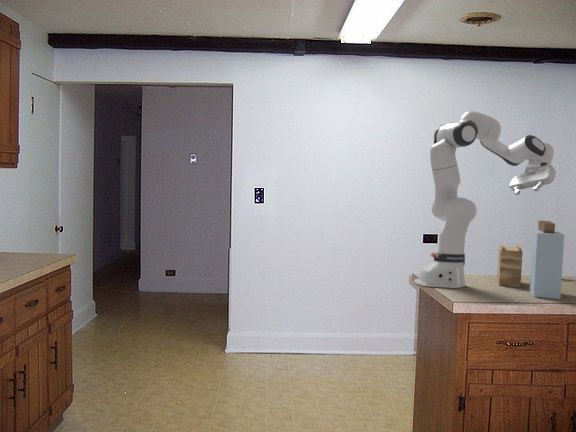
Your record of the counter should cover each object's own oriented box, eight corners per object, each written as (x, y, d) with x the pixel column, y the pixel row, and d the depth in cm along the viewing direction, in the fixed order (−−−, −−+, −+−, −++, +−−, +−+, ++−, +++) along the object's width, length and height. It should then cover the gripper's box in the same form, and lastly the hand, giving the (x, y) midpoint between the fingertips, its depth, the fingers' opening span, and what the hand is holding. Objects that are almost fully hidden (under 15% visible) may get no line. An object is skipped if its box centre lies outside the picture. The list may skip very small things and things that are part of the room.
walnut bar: (554, 233, 246) (555, 223, 245) (544, 232, 247) (544, 223, 246) (547, 230, 265) (548, 221, 265) (538, 229, 266) (538, 220, 266)
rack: (520, 287, 267) (522, 248, 266) (499, 285, 270) (501, 246, 269) (517, 281, 283) (519, 244, 282) (497, 280, 285) (499, 243, 284)
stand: (560, 299, 242) (564, 234, 240) (533, 296, 245) (537, 233, 243) (554, 292, 257) (558, 231, 256) (529, 290, 260) (533, 230, 259)
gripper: (512, 171, 281) (502, 191, 274) (552, 161, 264) (543, 182, 257) (518, 180, 283) (509, 200, 276) (559, 172, 266) (550, 193, 260)
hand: (526, 192), depth 267 cm, fingers open, 8 cm apart
